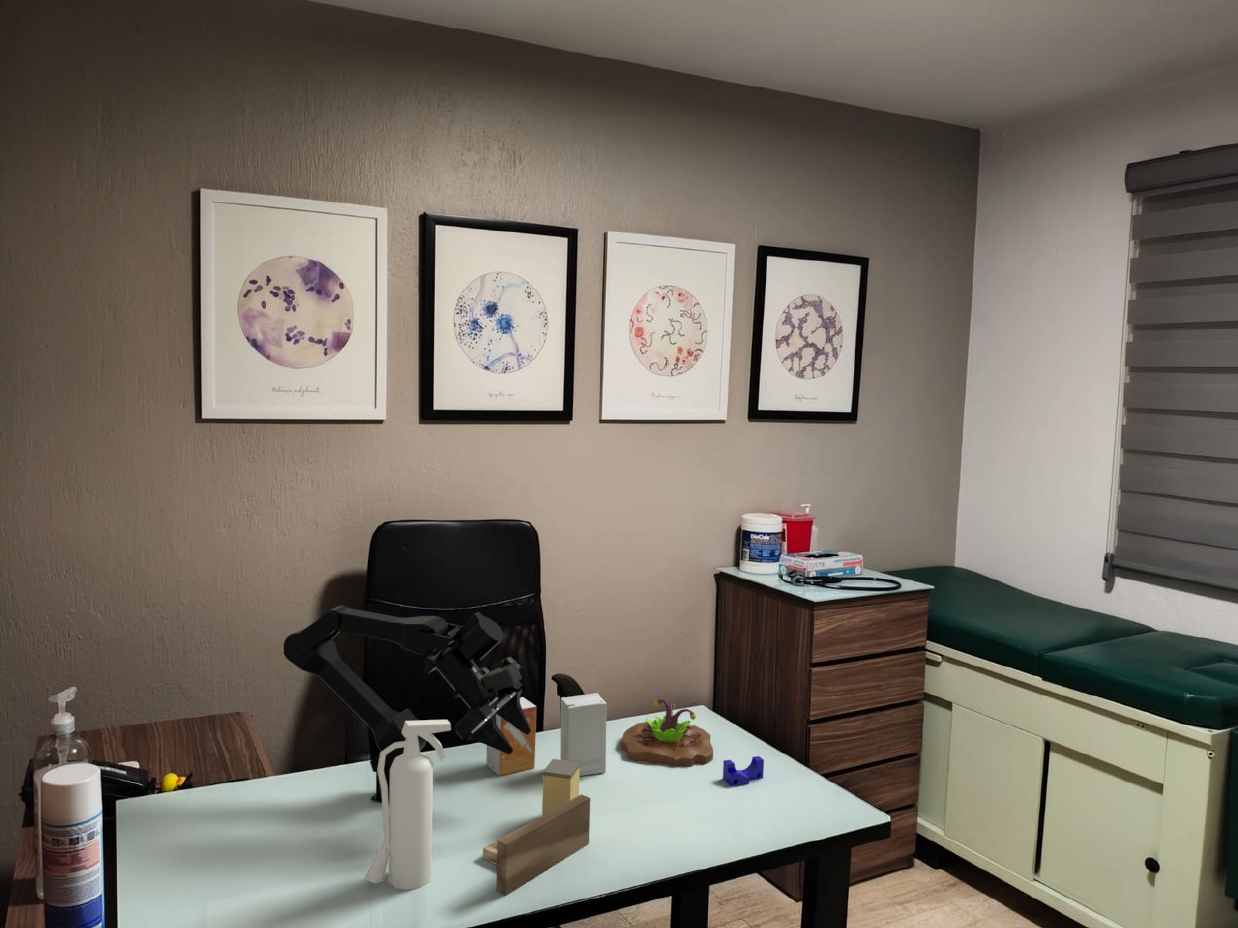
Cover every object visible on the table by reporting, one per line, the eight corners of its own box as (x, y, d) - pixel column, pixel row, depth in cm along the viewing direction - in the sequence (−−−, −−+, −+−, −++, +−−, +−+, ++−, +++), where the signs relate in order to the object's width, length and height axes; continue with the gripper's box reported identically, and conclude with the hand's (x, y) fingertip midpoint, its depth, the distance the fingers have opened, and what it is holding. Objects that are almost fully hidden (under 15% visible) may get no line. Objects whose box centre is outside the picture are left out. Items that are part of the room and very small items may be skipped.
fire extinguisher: (359, 874, 136) (366, 719, 133) (436, 861, 141) (444, 711, 139) (366, 898, 129) (374, 736, 127) (446, 883, 135) (456, 727, 133)
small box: (499, 776, 172) (500, 712, 171) (485, 765, 177) (486, 702, 176) (535, 768, 176) (537, 705, 175) (521, 756, 181) (522, 695, 180)
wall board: (458, 871, 138) (459, 822, 137) (543, 824, 154) (544, 780, 153) (505, 895, 131) (506, 844, 131) (589, 843, 147) (590, 797, 147)
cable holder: (730, 787, 171) (731, 767, 170) (722, 779, 174) (723, 760, 174) (766, 782, 173) (767, 762, 173) (758, 774, 177) (759, 755, 176)
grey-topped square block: (541, 826, 153) (542, 771, 152) (551, 812, 158) (552, 758, 157) (569, 830, 151) (570, 775, 151) (578, 816, 157) (580, 762, 156)
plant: (622, 729, 199) (624, 681, 198) (708, 733, 198) (710, 685, 198) (619, 766, 179) (621, 713, 178) (714, 770, 179) (717, 717, 178)
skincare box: (597, 761, 180) (599, 691, 179) (606, 774, 174) (608, 701, 173) (557, 766, 177) (559, 695, 176) (566, 779, 172) (568, 705, 170)
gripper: (473, 663, 146) (534, 734, 145) (512, 634, 164) (567, 697, 163) (429, 703, 149) (489, 774, 147) (473, 670, 167) (526, 733, 165)
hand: (520, 742), depth 156 cm, fingers open, 9 cm apart
